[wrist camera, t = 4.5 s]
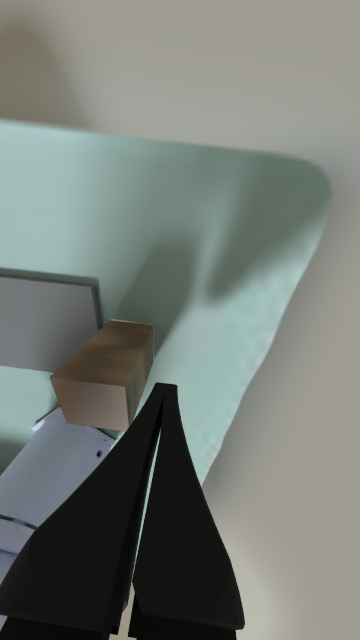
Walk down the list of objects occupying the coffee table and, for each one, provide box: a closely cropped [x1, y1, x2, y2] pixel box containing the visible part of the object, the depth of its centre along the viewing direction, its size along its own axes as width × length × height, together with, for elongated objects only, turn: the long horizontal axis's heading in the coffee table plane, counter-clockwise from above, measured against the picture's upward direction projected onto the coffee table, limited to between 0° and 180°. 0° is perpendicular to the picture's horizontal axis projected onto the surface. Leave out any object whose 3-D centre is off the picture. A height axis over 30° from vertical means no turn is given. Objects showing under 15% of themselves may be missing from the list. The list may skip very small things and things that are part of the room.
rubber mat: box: [0, 275, 101, 372], centre depth 15 cm, size 14×10×1 cm
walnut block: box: [50, 319, 155, 431], centre depth 12 cm, size 4×4×7 cm
